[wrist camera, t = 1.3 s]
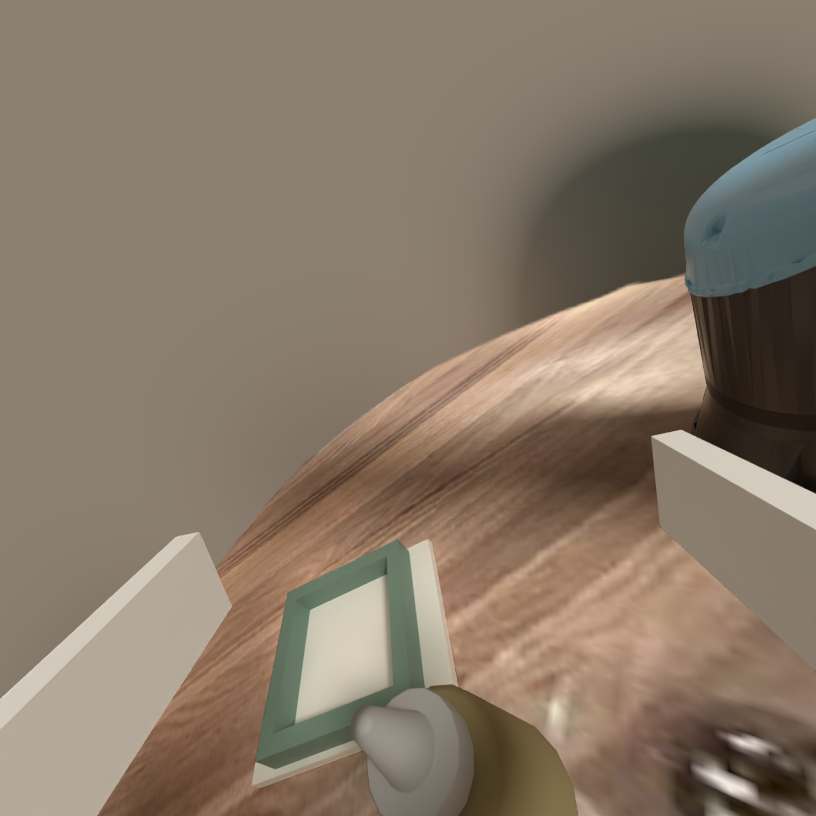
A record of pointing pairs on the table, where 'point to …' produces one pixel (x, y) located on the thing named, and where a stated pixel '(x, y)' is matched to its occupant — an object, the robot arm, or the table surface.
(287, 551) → the table surface
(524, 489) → the table surface
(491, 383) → the table surface
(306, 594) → the collar stand
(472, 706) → the squeeze bottle
